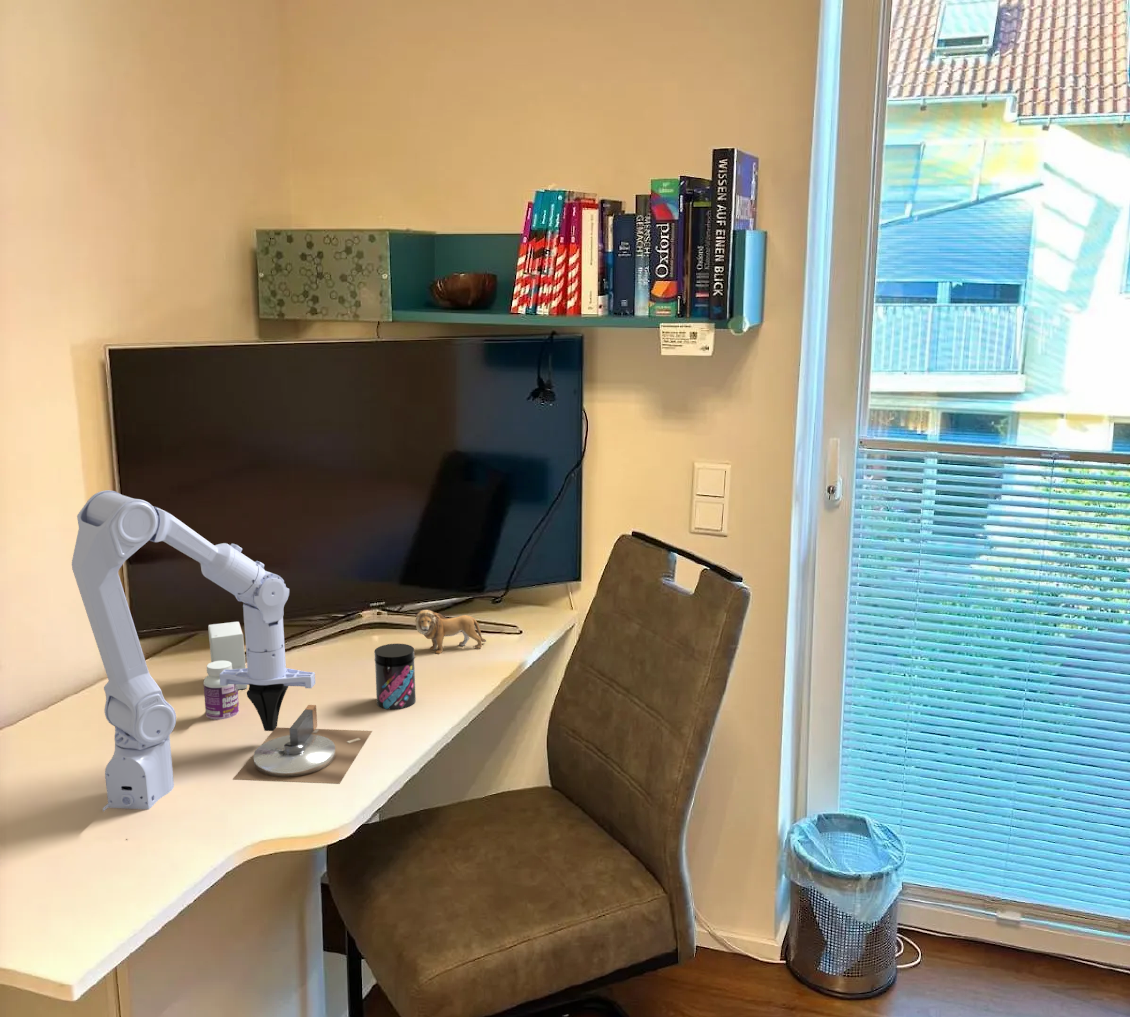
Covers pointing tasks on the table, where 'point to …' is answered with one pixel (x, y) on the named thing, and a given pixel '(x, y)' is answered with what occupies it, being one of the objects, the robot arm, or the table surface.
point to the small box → (227, 645)
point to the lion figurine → (447, 628)
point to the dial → (296, 749)
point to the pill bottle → (220, 693)
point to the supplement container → (395, 676)
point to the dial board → (345, 754)
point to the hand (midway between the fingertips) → (270, 728)
